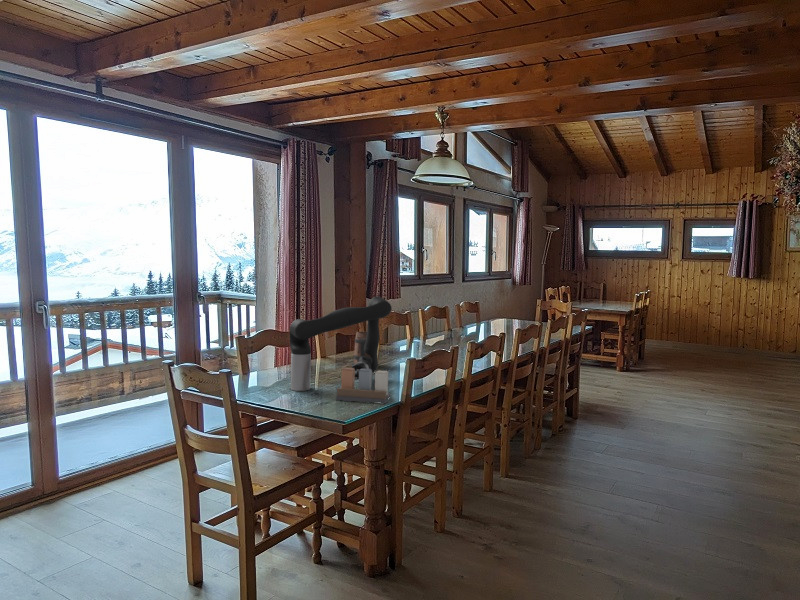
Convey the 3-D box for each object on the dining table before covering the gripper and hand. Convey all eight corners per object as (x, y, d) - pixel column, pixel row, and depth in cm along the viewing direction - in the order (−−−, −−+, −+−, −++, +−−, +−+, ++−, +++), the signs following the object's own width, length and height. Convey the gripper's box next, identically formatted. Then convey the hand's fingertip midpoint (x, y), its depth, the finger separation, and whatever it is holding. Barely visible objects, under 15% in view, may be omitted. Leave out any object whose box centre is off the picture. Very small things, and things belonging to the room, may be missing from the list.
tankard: (352, 362, 327) (352, 329, 326) (380, 363, 326) (380, 330, 325) (346, 370, 304) (347, 335, 302) (376, 371, 303) (377, 336, 301)
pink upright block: (343, 390, 250) (344, 367, 249) (354, 390, 249) (354, 368, 248) (341, 392, 246) (341, 369, 245) (351, 392, 245) (352, 369, 244)
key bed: (343, 393, 252) (344, 383, 252) (390, 397, 248) (390, 386, 248) (336, 400, 240) (336, 389, 240) (384, 404, 236) (385, 392, 236)
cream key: (376, 393, 245) (377, 370, 244) (387, 394, 244) (388, 371, 243) (374, 395, 241) (375, 372, 240) (385, 396, 240) (386, 372, 239)
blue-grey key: (360, 391, 248) (361, 368, 248) (371, 392, 247) (371, 369, 247) (358, 393, 244) (358, 370, 244) (369, 394, 243) (369, 370, 243)
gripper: (346, 361, 268) (336, 368, 251) (373, 363, 266) (364, 370, 249) (346, 376, 269) (336, 384, 252) (372, 378, 266) (363, 386, 249)
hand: (350, 377), depth 250 cm, fingers closed
